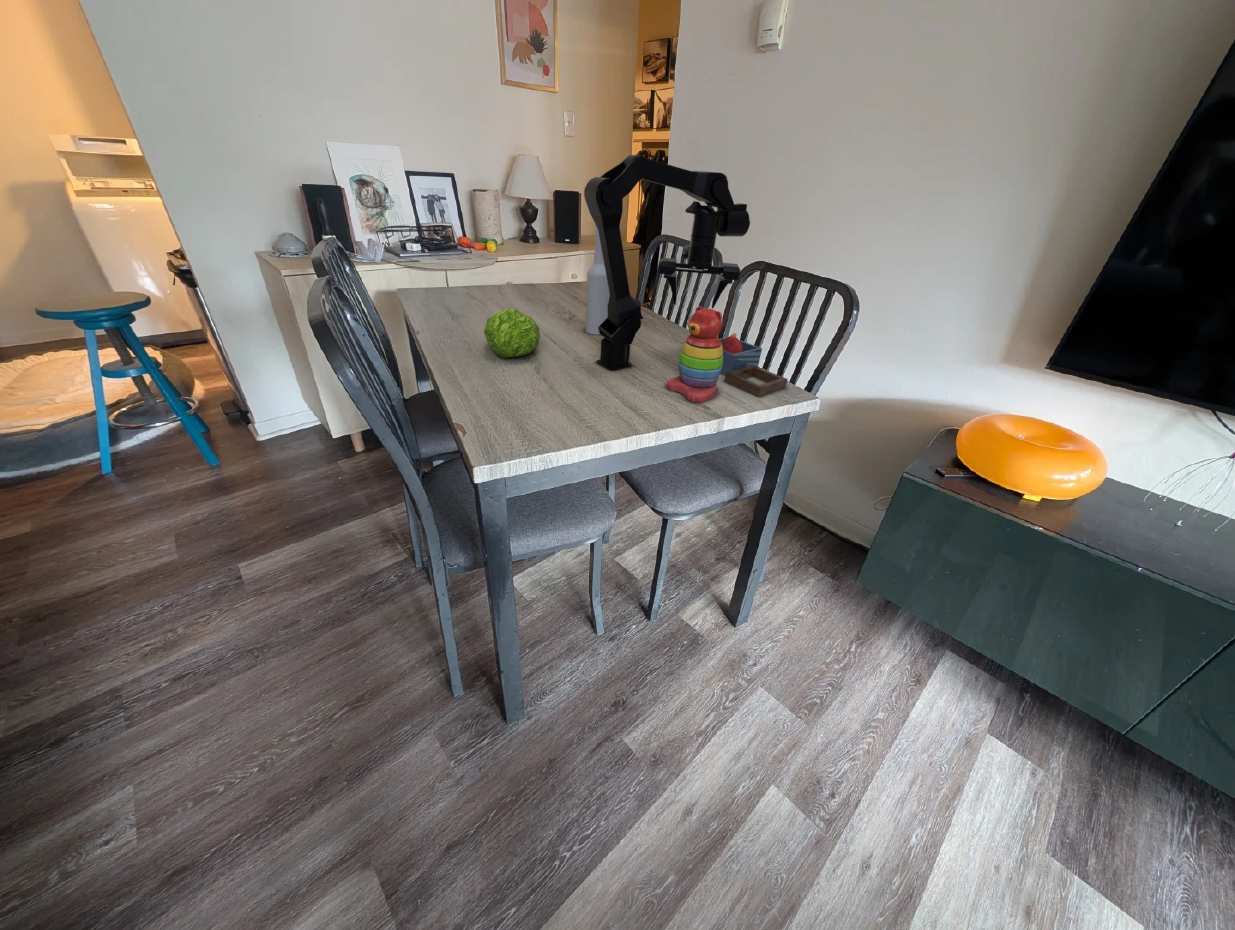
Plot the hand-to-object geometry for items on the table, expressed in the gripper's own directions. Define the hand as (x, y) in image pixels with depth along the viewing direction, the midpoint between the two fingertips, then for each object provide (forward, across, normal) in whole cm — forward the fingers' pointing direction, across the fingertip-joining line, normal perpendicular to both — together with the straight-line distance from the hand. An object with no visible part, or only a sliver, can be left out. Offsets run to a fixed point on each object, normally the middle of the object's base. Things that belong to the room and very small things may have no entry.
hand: (693, 306), depth 116 cm
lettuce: (+13, +45, +6) cm, 48 cm away
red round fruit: (+13, -10, +4) cm, 17 cm away
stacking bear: (+13, -2, +22) cm, 25 cm away
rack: (+13, -16, +14) cm, 25 cm away
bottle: (+13, +26, -15) cm, 33 cm away
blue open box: (+13, -10, +4) cm, 17 cm away
